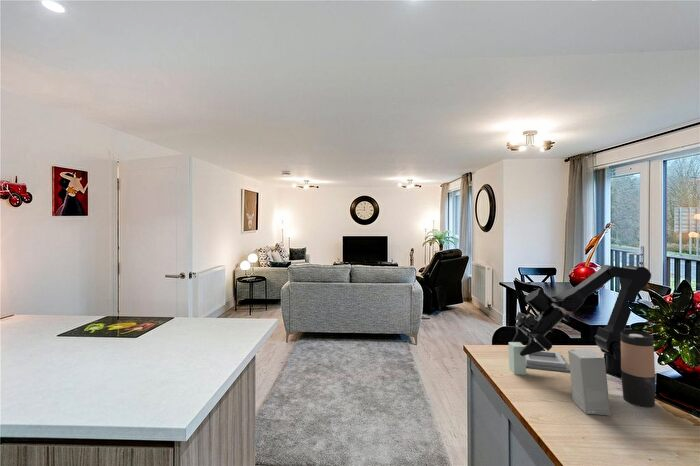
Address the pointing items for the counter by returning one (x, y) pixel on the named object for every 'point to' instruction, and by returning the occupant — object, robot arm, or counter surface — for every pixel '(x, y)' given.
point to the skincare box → (589, 381)
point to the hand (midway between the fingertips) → (515, 350)
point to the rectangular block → (517, 358)
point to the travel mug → (638, 368)
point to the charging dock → (547, 361)
